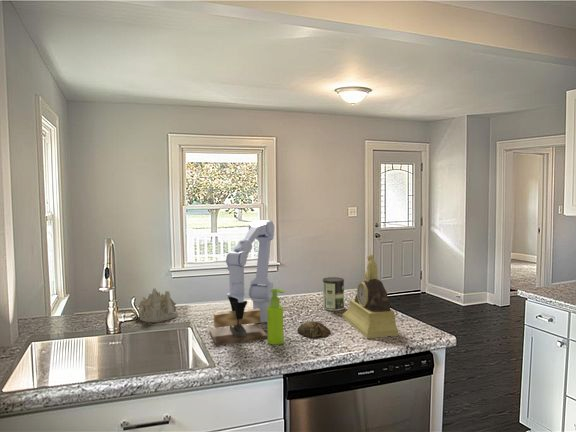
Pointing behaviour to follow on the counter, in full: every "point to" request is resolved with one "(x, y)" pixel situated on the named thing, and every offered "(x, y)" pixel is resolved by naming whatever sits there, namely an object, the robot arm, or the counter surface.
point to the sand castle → (157, 307)
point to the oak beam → (230, 318)
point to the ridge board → (231, 338)
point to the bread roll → (313, 329)
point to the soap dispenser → (275, 319)
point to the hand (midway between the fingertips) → (237, 316)
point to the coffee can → (333, 293)
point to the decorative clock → (371, 307)
